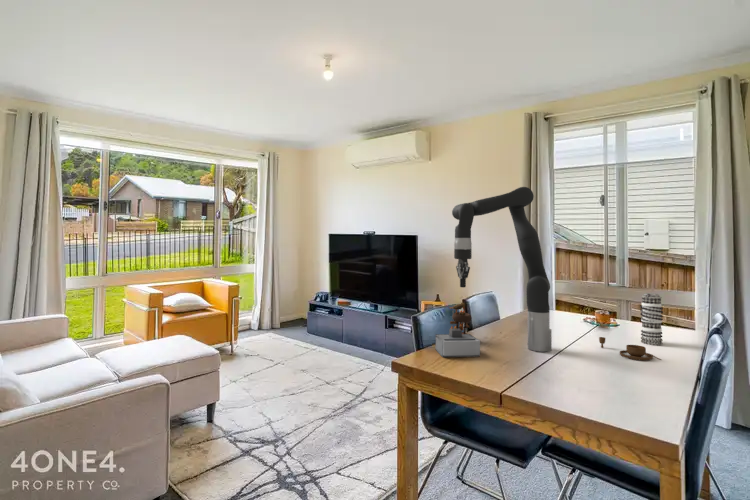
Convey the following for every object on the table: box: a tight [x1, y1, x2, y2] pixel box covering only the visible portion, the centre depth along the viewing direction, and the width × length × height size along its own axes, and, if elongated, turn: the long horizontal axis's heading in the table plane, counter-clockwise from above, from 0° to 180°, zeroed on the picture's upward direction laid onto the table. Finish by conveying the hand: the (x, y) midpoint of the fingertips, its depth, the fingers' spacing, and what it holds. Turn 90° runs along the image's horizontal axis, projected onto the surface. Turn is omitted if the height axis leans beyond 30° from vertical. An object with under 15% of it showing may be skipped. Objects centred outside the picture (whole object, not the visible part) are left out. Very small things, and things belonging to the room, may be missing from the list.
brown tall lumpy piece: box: [448, 302, 472, 334], centre depth 191 cm, size 15×11×20 cm
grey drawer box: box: [435, 328, 481, 358], centre depth 171 cm, size 16×13×10 cm
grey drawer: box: [443, 339, 481, 356], centre depth 169 cm, size 16×13×6 cm
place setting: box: [598, 336, 662, 362], centre depth 170 cm, size 18×20×6 cm
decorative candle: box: [639, 292, 664, 347], centre depth 186 cm, size 9×9×25 cm
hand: (462, 287), depth 172 cm, fingers closed
